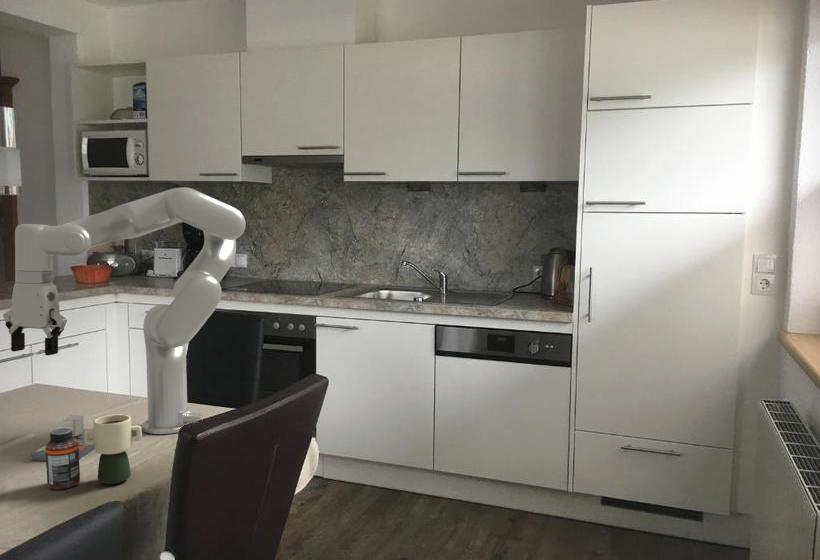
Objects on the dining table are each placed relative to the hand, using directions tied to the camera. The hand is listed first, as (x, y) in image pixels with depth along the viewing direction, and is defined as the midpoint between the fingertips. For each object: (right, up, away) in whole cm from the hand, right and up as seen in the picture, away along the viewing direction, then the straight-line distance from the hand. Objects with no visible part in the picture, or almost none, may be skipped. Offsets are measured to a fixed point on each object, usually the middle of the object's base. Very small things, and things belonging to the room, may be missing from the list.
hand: (34, 352), depth 156 cm
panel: (+8, -23, +2) cm, 24 cm away
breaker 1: (+6, -21, +2) cm, 21 cm away
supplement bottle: (+17, -25, -19) cm, 35 cm away
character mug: (+26, -25, -17) cm, 39 cm away
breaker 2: (+6, -20, +6) cm, 22 cm away
